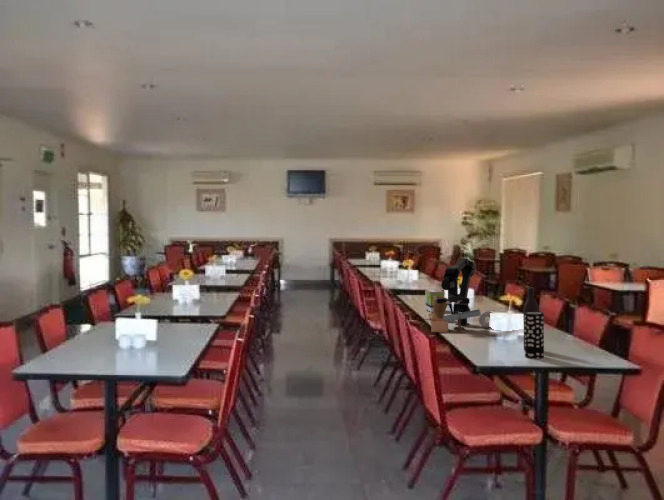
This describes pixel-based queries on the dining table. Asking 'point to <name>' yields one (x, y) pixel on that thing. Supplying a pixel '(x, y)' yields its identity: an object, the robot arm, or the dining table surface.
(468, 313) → the grey flat piece
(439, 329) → the brown boxy piece
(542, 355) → the white-spotted black cylinder
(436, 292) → the tea box
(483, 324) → the donut
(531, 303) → the wine bottle
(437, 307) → the stone cup
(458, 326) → the lever stand
